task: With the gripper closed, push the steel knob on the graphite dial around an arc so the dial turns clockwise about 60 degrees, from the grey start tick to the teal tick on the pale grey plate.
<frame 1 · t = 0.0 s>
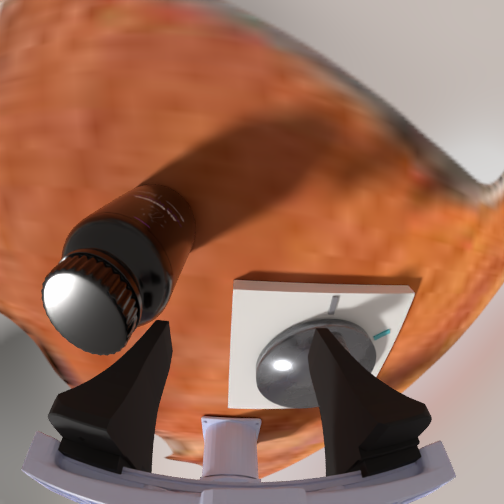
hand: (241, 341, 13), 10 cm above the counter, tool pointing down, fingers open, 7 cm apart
dial: (321, 386, 23), point 5 cm above the counter, hinge at 0.0°
dial plate: (312, 352, 27), on the counter
supplement bottle: (155, 223, 21), on the counter
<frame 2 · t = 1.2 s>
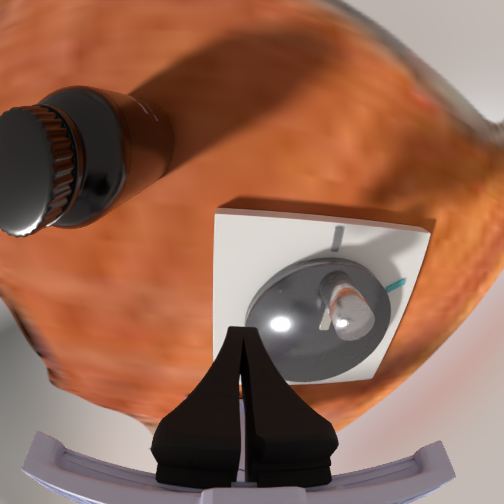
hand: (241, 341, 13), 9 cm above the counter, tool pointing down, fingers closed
dial: (326, 347, 19), point 5 cm above the counter, hinge at 0.0°
dial plate: (313, 310, 24), on the counter
supplement bottle: (131, 144, 17), on the counter
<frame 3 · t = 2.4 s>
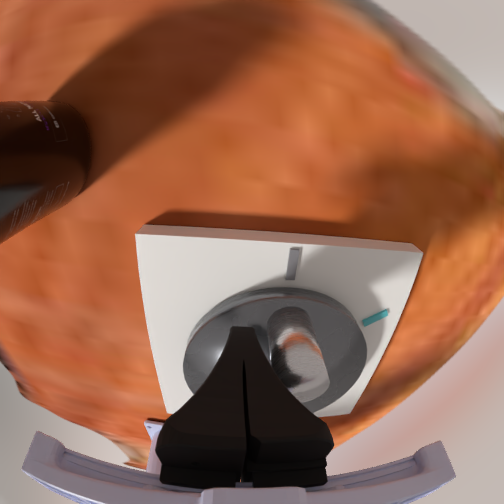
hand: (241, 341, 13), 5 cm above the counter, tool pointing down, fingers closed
dial: (279, 394, 15), point 5 cm above the counter, hinge at 0.0°, touching gripper
dial plate: (273, 343, 19), on the counter
supplement bottle: (54, 153, 13), on the counter
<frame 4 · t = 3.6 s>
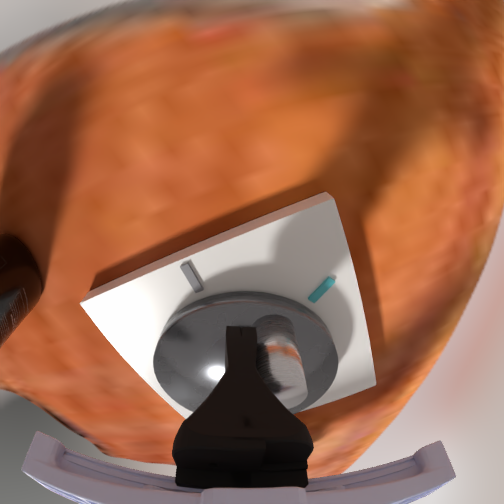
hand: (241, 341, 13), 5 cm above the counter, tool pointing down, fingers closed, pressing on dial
dial: (245, 398, 15), point 5 cm above the counter, hinge at 42.5°, touching gripper
dial plate: (245, 346, 19), on the counter
supplement bottle: (17, 268, 17), on the counter
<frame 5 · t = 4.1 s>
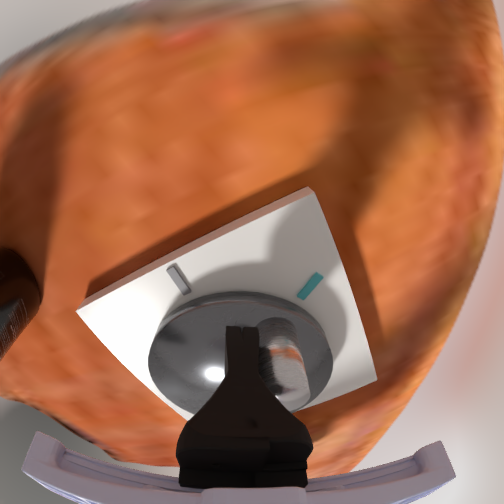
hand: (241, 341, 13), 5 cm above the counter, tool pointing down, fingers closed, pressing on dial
dial: (240, 398, 15), point 5 cm above the counter, hinge at 52.3°, touching gripper
dial plate: (240, 346, 19), on the counter
supplement bottle: (16, 280, 17), on the counter
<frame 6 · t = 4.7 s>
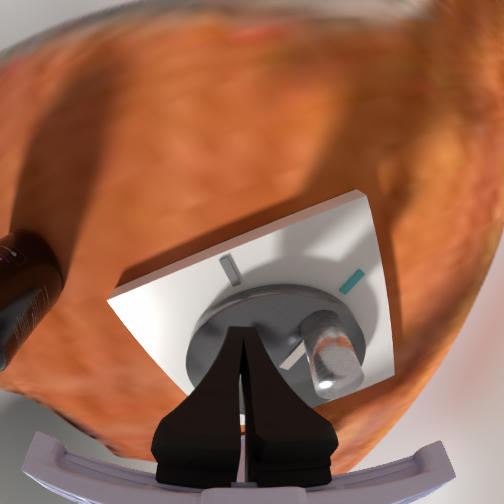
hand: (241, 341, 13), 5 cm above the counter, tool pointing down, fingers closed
dial: (280, 389, 16), point 5 cm above the counter, hinge at 53.0°
dial plate: (273, 339, 20), on the counter
supplement bottle: (34, 265, 17), on the counter
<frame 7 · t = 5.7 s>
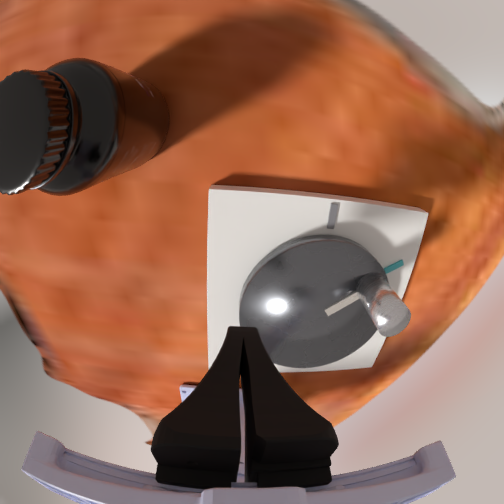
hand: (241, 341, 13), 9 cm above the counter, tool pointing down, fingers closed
dial: (323, 328, 19), point 5 cm above the counter, hinge at 53.0°
dial plate: (310, 292, 23), on the counter
supplement bottle: (127, 123, 17), on the counter
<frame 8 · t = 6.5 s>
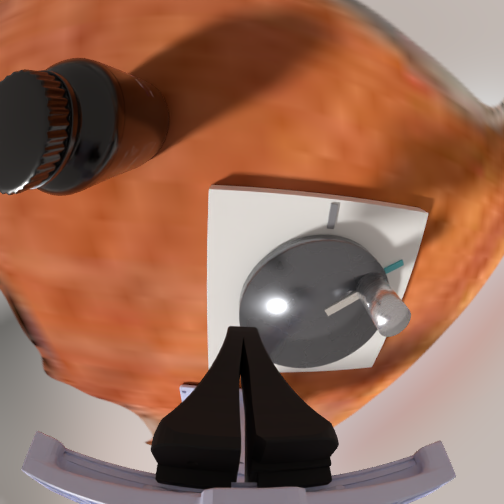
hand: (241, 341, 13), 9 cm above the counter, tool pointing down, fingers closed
dial: (323, 328, 19), point 5 cm above the counter, hinge at 53.0°
dial plate: (310, 292, 23), on the counter
supplement bottle: (127, 123, 17), on the counter
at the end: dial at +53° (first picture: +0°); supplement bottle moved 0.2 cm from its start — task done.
